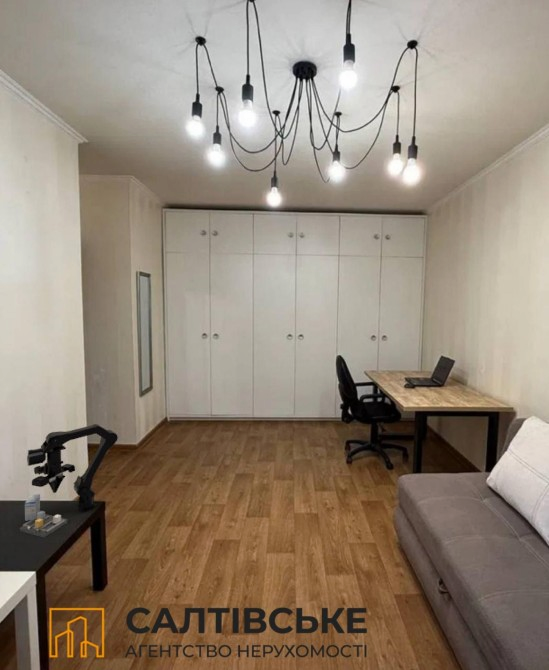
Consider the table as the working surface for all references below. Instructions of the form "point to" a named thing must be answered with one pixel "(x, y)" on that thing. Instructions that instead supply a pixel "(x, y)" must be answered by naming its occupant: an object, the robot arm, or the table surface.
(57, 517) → the slider cream
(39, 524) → the slider amber
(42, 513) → the slider blue
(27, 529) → the panel
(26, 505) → the medicine box
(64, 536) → the table surface
